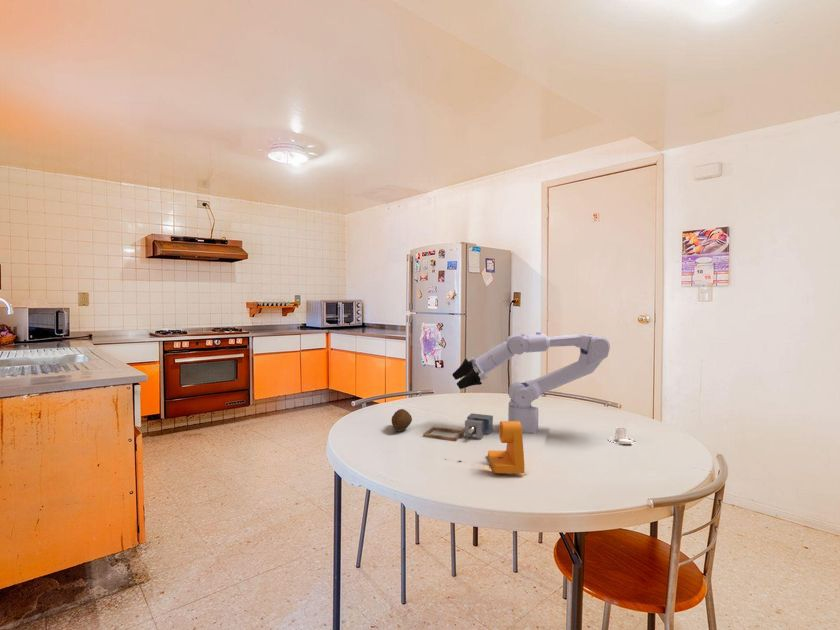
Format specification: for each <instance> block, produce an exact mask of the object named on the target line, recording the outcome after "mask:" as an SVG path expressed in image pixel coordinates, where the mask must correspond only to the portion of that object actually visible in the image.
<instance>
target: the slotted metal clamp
mask: <svg viewBox="0 0 840 630" xmlns="http://www.w3.org/2000/svg"><path fill="white" fill-rule="evenodd" d="M471 427H476V433H475V435H476V437H475V438H476V440H482V439H483V437H484V434H483V421H477V420H469V419H467V418H466V420H464V438H467V439H469V438H471V437H472V433H471V434H469V433H468V430H469V429H470V428H471Z"/></svg>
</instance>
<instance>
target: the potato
mask: <svg viewBox="0 0 840 630" xmlns="http://www.w3.org/2000/svg"><path fill="white" fill-rule="evenodd" d="M412 421H413V418H412V415H411V414H410V412H409V411H408V410H406V409H403V408H399V409H398V410H397V411H395V412H394V413H393V415H392V417H391V425H392V427H393V428H394V429H395V430H396V431H397V432H401V431H405V430H406V429H408V427H409V426H410V424H411V423H412Z"/></svg>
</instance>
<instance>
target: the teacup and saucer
mask: <svg viewBox="0 0 840 630" xmlns="http://www.w3.org/2000/svg"><path fill="white" fill-rule="evenodd" d="M614 429H615V431H614V432H615V436H616V438H615V439H616V441H614V443H613V442H612V441H613V440H612V441H611V442H610V440H609V441H608V442H610V443H613V444H617V443H618V445H623V444H631V445H634V443H635V444H636V441H635V442H634V443H632V441H631V440H628V439H625V438H627V428H624V427H621V426H620V427H615V428H614ZM617 440H618V442H617ZM616 442H617V443H616Z"/></svg>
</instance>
